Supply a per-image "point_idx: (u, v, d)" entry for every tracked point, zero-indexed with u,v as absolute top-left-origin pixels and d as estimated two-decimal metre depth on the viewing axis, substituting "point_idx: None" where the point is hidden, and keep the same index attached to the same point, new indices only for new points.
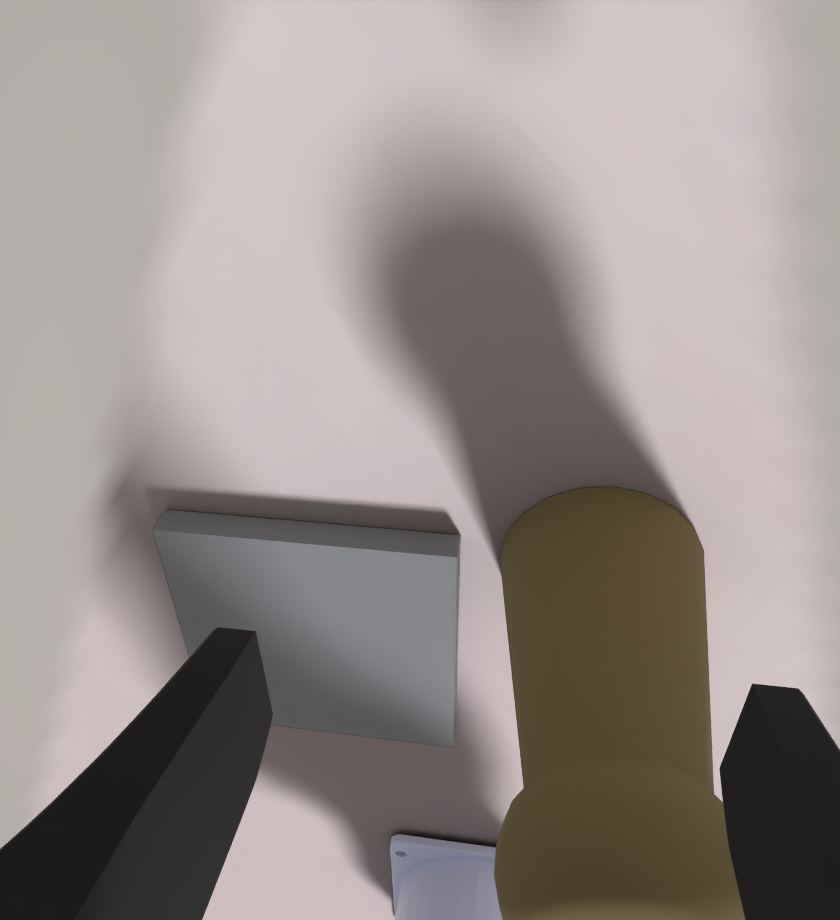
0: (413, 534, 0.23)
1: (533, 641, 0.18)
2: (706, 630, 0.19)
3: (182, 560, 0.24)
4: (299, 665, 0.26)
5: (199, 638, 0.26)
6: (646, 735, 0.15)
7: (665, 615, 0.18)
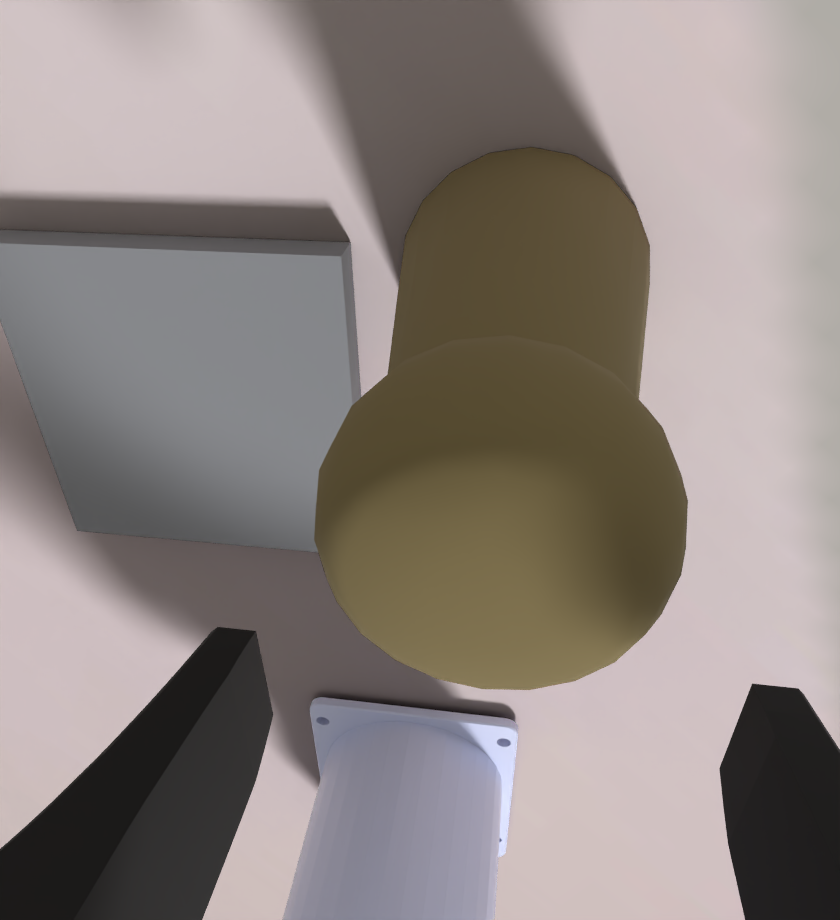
0: (291, 242, 0.18)
1: (411, 289, 0.14)
2: (643, 299, 0.15)
3: (14, 288, 0.19)
4: (172, 444, 0.21)
5: (52, 410, 0.21)
6: (535, 330, 0.11)
7: (582, 245, 0.13)
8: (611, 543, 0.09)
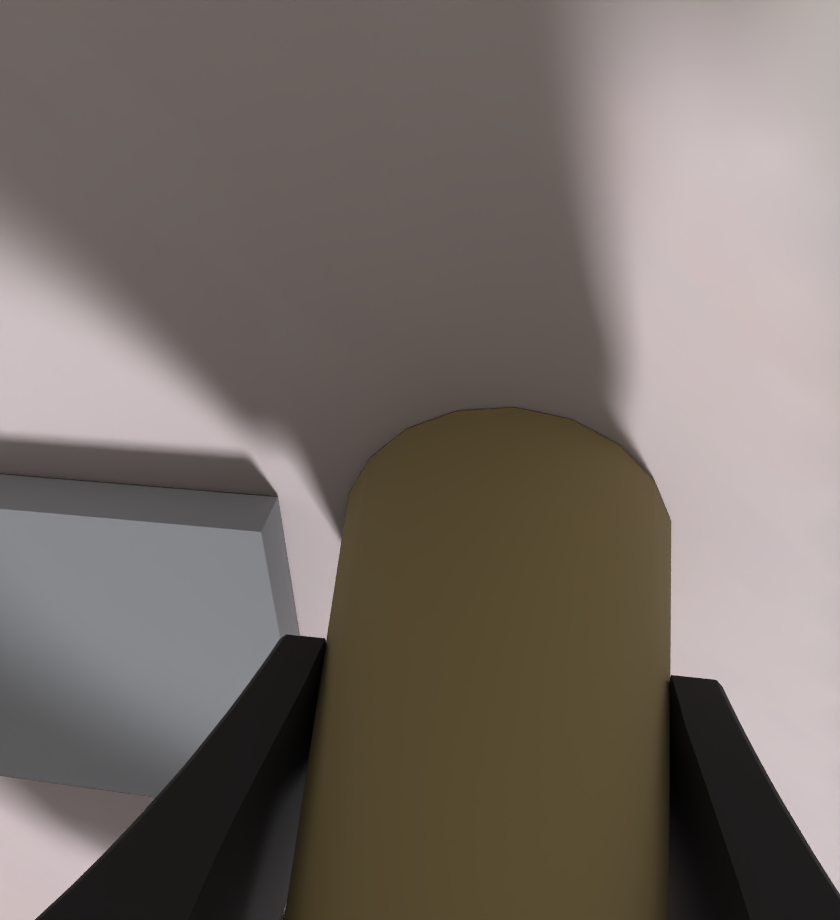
0: (202, 496, 0.14)
1: (336, 680, 0.10)
2: (668, 659, 0.11)
3: None
4: (69, 701, 0.17)
5: None
6: (512, 912, 0.07)
7: (584, 633, 0.09)
8: None
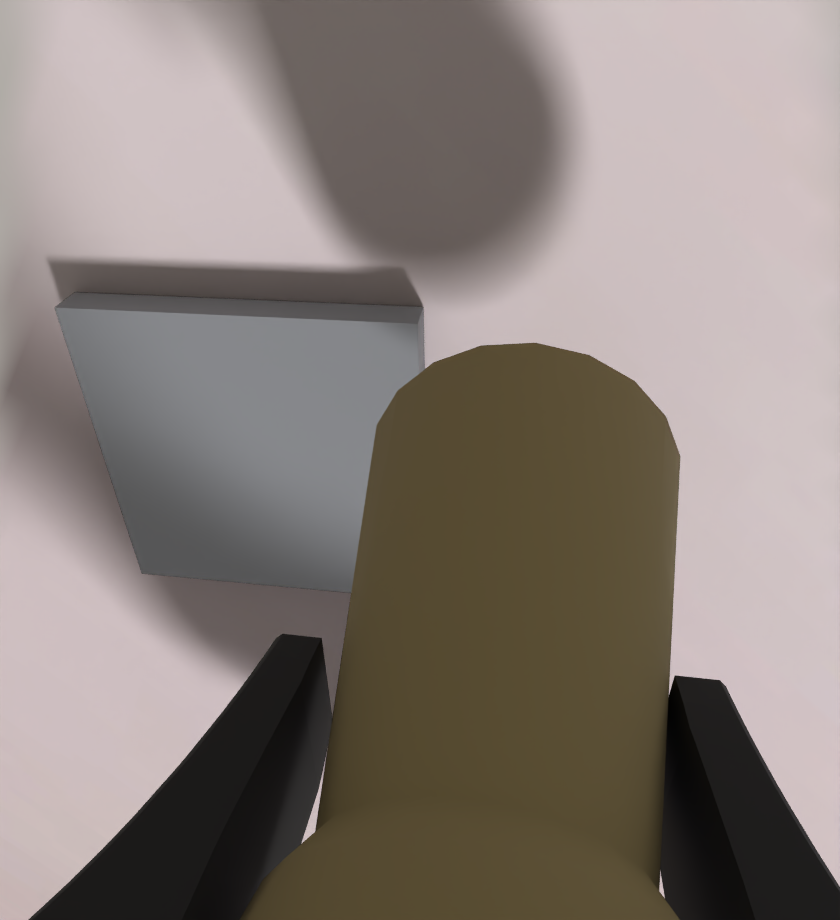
0: (366, 307, 0.19)
1: (369, 581, 0.11)
2: (673, 575, 0.11)
3: (94, 350, 0.20)
4: (241, 494, 0.22)
5: (124, 462, 0.22)
6: (527, 763, 0.08)
7: (597, 543, 0.10)
8: None
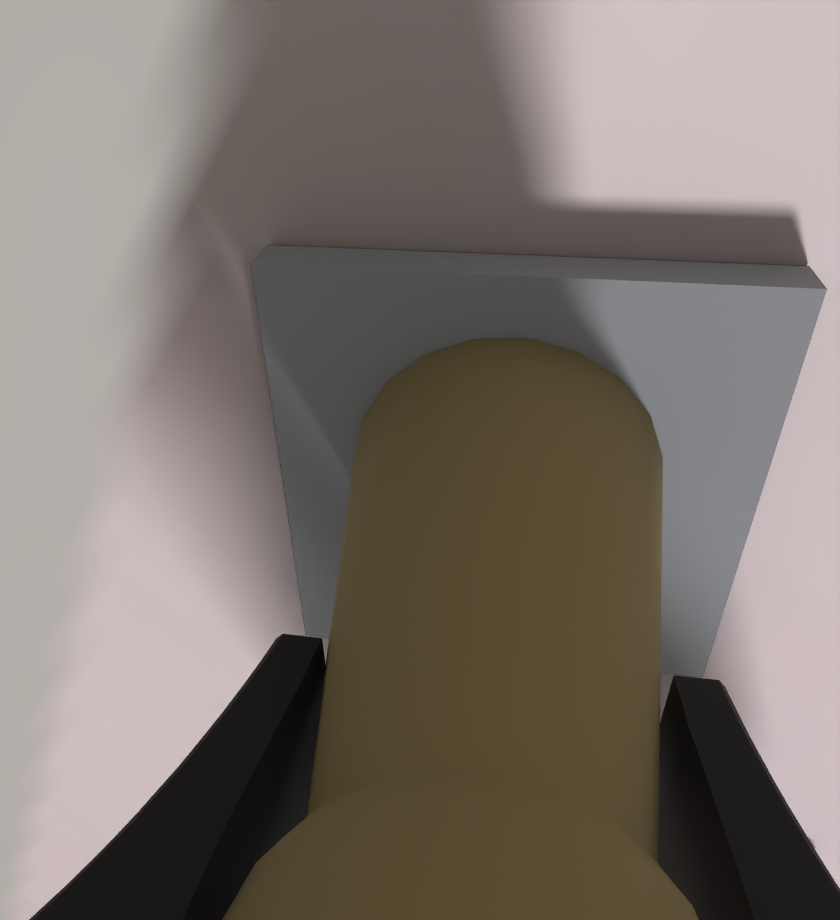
0: (722, 266, 0.13)
1: (361, 566, 0.10)
2: (660, 569, 0.12)
3: (299, 329, 0.14)
4: None
5: (311, 489, 0.16)
6: (532, 741, 0.08)
7: (592, 530, 0.10)
8: None
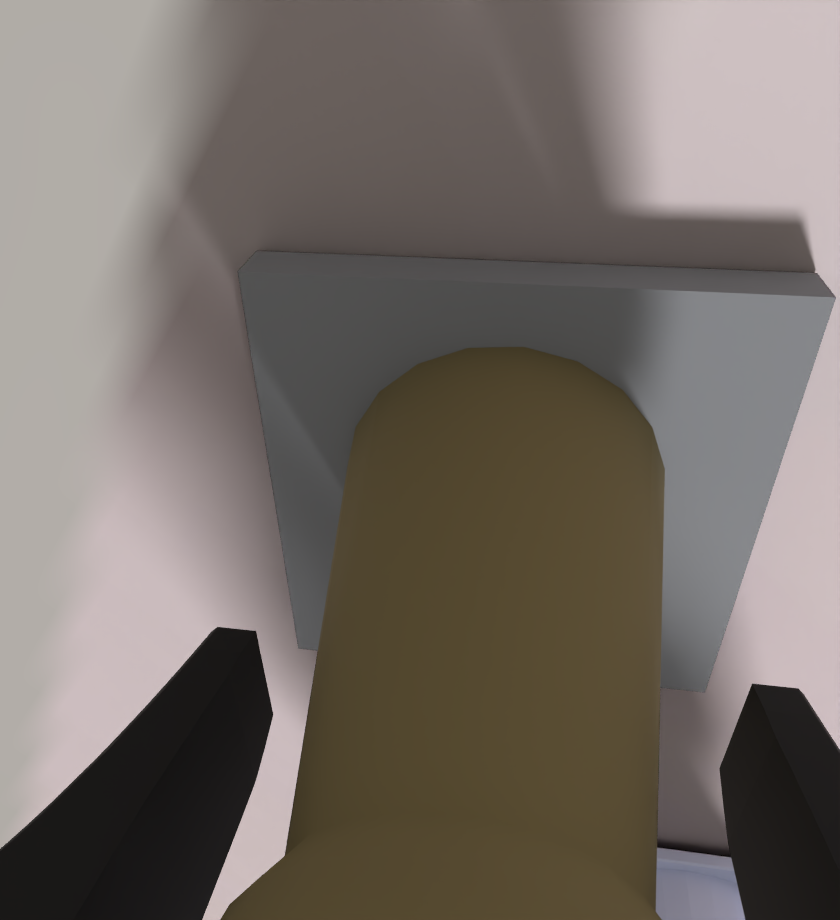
0: (726, 273, 0.12)
1: (349, 585, 0.10)
2: (661, 587, 0.11)
3: (289, 338, 0.13)
4: None
5: (303, 501, 0.15)
6: (522, 777, 0.07)
7: (589, 549, 0.10)
8: None
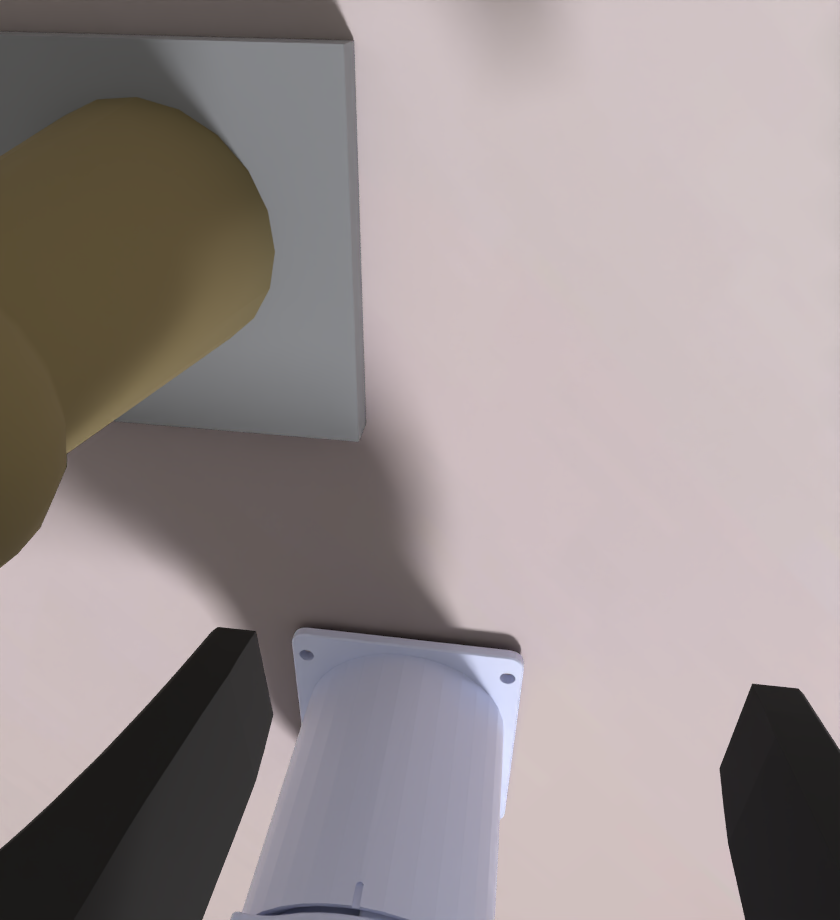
0: (286, 39, 0.16)
1: None
2: (201, 253, 0.15)
3: None
4: None
5: None
6: None
7: (101, 184, 0.13)
8: None
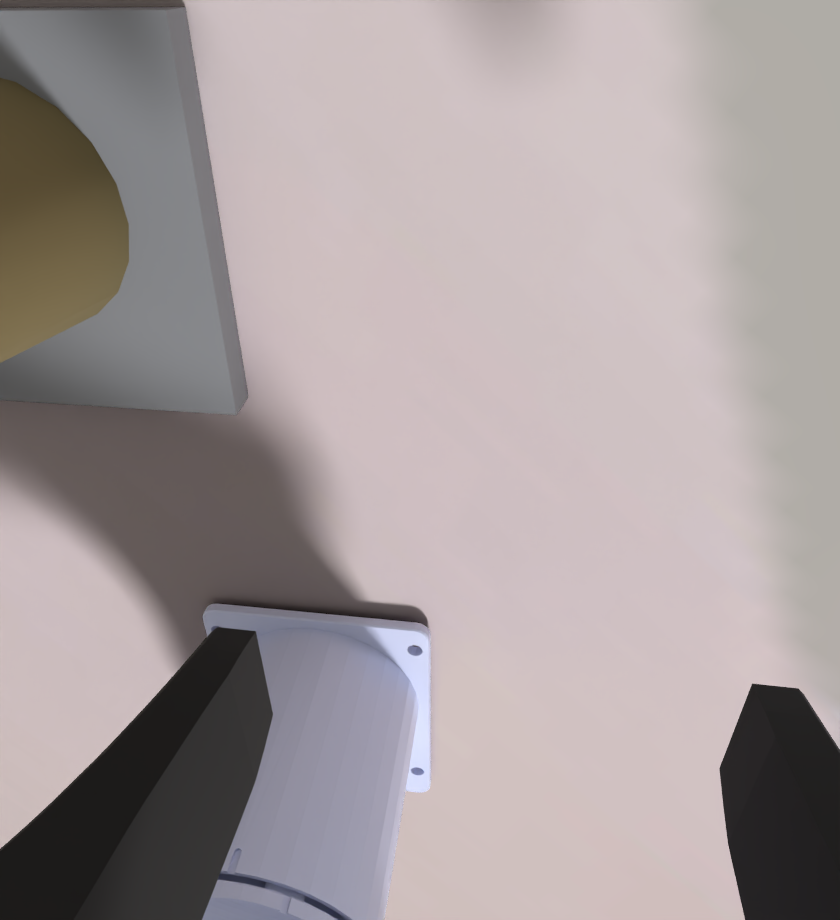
0: (117, 7, 0.16)
1: None
2: (25, 224, 0.15)
3: None
4: None
5: None
6: None
7: None
8: None
